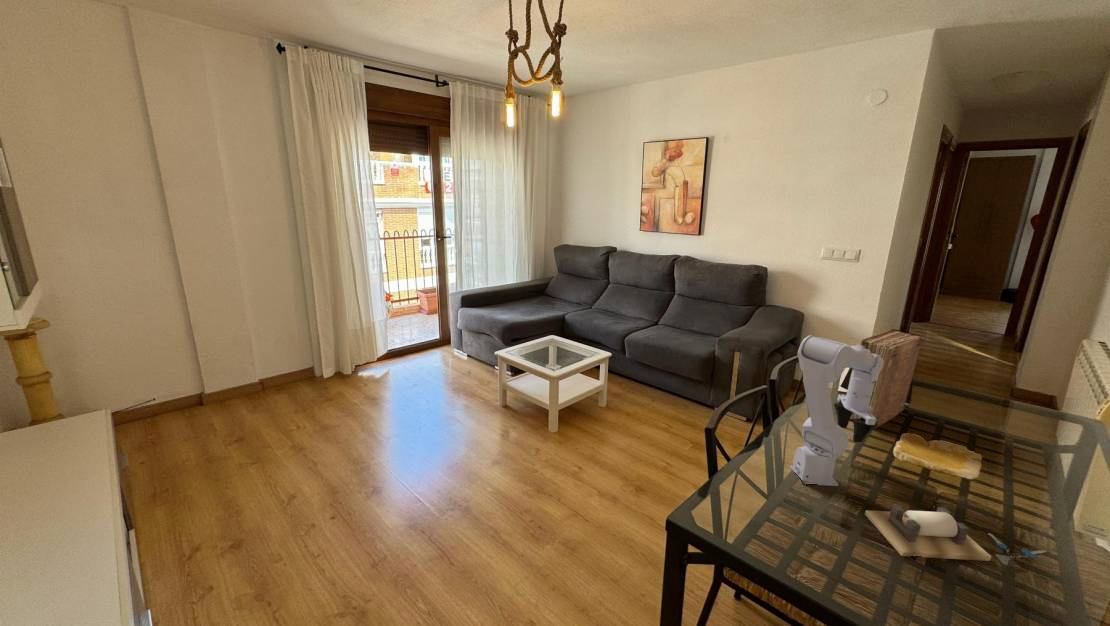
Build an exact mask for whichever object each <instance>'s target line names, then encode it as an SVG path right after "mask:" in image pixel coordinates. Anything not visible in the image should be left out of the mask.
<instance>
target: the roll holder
mask: <svg viewBox="0 0 1110 626" xmlns="http://www.w3.org/2000/svg"><path fill="white" fill-rule="evenodd" d="M905 512H906V511H905V509H904V508H903V507H902V506H901V505H900V504H892V505H891V509H890V511H884V510H883V511H882V510H868V509H867V510H865V512H864V516H866V517H867V519H868V520H869V521H870V522H871V523H872V524H873V525H874V527H876V529H877V530H878V531H879V532H880V533H881V535H883V537H884V538H885V539H886V540H887V542H888V543H889V544H890V545H892V547H893V548H894V549H895V550H896V552H897V553H899V555H900V556H901V557H911V556H914V557H915V556H922V557H921V558H930V559H931V558H932V559H933V558H934V559H948V560H949V559H951V560H967V561H969V560H970V561H983V562H990V561H991V559H992V556H991V555H990V553H988V552H987V551H986V550H985V549H984V548H983V547H982V546H980V545H979V544H978V543H977V542H976V541H975V540H974V539H973V538H971V537H970V536H969V535H968V533H969V530H970V528H969V527H968V526H967V525H966V524H964V523H963V522H957V527H958V532H957V535H956V536H954V537H940V536H922V535H918V533H919V530H920V527H921V526H920V525H919V524H918V523H917V522H916V521H915V520H907V524H906V527H905V526H904V524H903V521H902V520H903V518H904V514H905ZM936 512H946V513H948V514H950V515H951V514H952V512H950V511H949V510H948V509H947V508H946V507H944V506H943V507H940V506H938V507H937V508H936ZM915 558H916V557H915Z"/></svg>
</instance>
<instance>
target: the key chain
mask: <svg viewBox="0 0 1110 626" xmlns="http://www.w3.org/2000/svg"><path fill="white" fill-rule="evenodd" d="M987 535H988V536H989V537H991V538H992V539H993V540H994V541H995V544H996V545H997V546H998V547H999V546H1000V547H999V548H1001V549H1003V550H1006V552H1007V553H1008V552H1010V551H1009V550H1010V549H1006V548H1007V547H1008V546H1007V545H1006V544H1005V543H1003V542H1002V541H1000V540H999V539H998V538H997V537H996V536H994V534H993V533H989V532H988V533H987ZM997 539H998V540H997ZM1021 551H1022V552H1021V553H1023V554H1024V555H1025V556H1026V558H1028V557H1029V558H1031V559H1036V557H1037V556H1036V555H1040V554H1044V553H1047V552H1048V551H1047V550H1045V549H1043V550H1042V549H1039V550H1033V551H1030V550H1028V549H1026V548H1021ZM1013 555H1014V556H1016V555H1015V554H1013ZM1017 555H1018V554H1017ZM995 556H996V557H997V558H998V560H1000V562H1001V563H1002V564H1003V565H1004V566H1006V565H1008V561H1009V560H1010V559H1011V558H1010V557H1012V556H1010V557H1009V556H1008V555H1004V554H1003V555H1002V554H997V553H996V554H995ZM1018 557H1019V558H1024V556H1023V555H1021V554H1019V555H1018V556H1017V558H1018ZM1012 558H1013V557H1012Z"/></svg>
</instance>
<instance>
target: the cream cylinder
mask: <svg viewBox="0 0 1110 626" xmlns="http://www.w3.org/2000/svg"><path fill="white" fill-rule="evenodd" d="M904 512H905V514H904V518H903V520H902V521H903V524H904V526H905V527H906V524H907V520H915V521H916V522H917V523H918V524H919V525H920V526H921V527H920V530H919V533H918V535H922V536H940V537H954V536H956V535H957V532H958V527H957V523H958V522H957V521H956V519H955V517H954V516H952V515H951V514H948V513H946V512H937V511H926V510H906V511H904Z"/></svg>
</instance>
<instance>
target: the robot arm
mask: <svg viewBox="0 0 1110 626" xmlns="http://www.w3.org/2000/svg"><path fill="white" fill-rule="evenodd" d="M864 348H865V347H864V346H861V344H856V345H849V344H847V343H844V342H839V341H837V340H834V339H828V338H825V337H819V336H814V335H811V334H810V335H807V336H806V337H804V339H803V340H802V341H801V343H800V345H799V348H798V350H797V357H798V362H799V368H800V370H801V371H802V380H803V381H802V383H803V387H804V391H805V397H806V401H807V406H808V407H807V408H808V413H809V416H808V418H807V419H806V420H805V421H804V423H803V424H802V433H801V437H802V439H803V440H802V441H804V445H803V446H799V447H798V446H797V447H796V449H795V451H794V456H793V461H792V465H790V469H791V470H792V472H793V473H794V472H795V473H796V474H797V475H798V476H799V477H800V478H801V480H803V481H807V483H808V482H809V483H808V484H818V485H817V486H827V487H828V486H829V487H838V486H839V483H838V482H837V481H836V480H835V479H834V478H833V474H834V471H835V466H836V461H837V457H840V456H842V455H844V453H845V452H846V450H847V449H848V446H849V442H850V440H849V437H848V435H847V434H846V431H845V430H844V429H847V427H848V426H849V422H850V420H851V419H850V417H851V415H852V413H855V414H857V415H858V416H860V417H861V418H860V419H852V423H853V436H852V439H853V440H852V441H853V442H854V443H862V442H863V441H864V440H865V438H866V437H867V436H868V434H869V433H870V432H871V431H873V430H874V429H873V428H874V427H876V425H877V423H876V418H875V417H874V416H873V415H872V413H871V411H870V410H872V407H870V406H869V404H870V400H871V396H872V392H873V388H874V384H875V381H876V380H877V379H878V377H879V374H880V372H881V370H882V368H883V365H884V360H883V358H881V356H880V355H876V354H873V353H870V352H871V351H870V350H868V349H864ZM846 367H849V368H850V369H852V370H851V373H850V378H849V383H848V387H847V392H846V394H838V395H837V400H836V401H838V402H835V403H833V404H832V398H831V391H830V386H829V384H830V383H836V382H837V381H839V378H840V377H841V376H842V374H843V372H844V371H845V369H846ZM833 407H834V409H835V413H836V418H837V419H836V420H837V423H836V421H835V418H834V412H833ZM872 429H873V430H872ZM795 473H794V474H795ZM796 474H795V475H796ZM797 475H796V476H797ZM798 476H797V477H798ZM801 480H800V481H801Z"/></svg>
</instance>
